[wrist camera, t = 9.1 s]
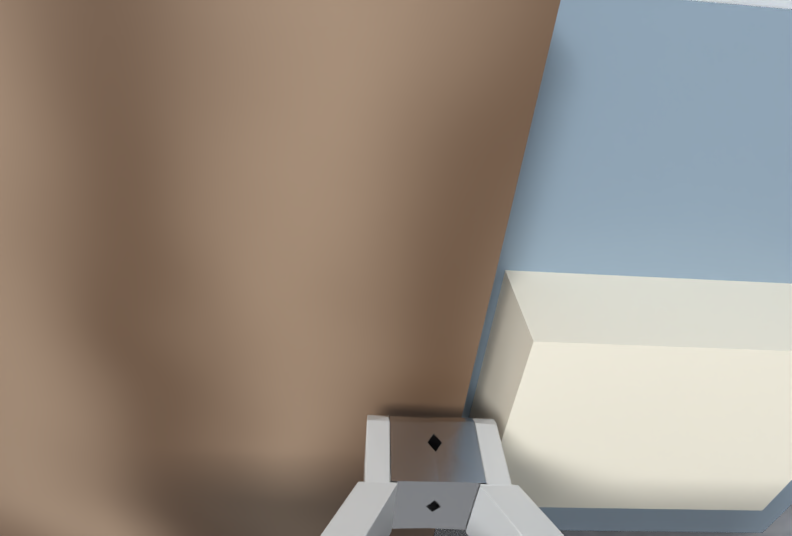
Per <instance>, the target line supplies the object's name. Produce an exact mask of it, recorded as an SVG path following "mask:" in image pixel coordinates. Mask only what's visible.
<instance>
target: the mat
mask: <svg viewBox="0 0 792 536" xmlns="http://www.w3.org/2000/svg"><path fill="white" fill-rule="evenodd" d="M505 270H511V271H532V272H554V273H575V274H597V275H618V276H640V277H661V278H683V279H704V280H726V281H747V282H769V283H790V284H792V9H783V8H772V7H761V6H749V5H738V4H727V3H715V2H704V1H693V0H561V1H560V5H559V9H558V13H557V18H556V22H555V26H554V30H553V35H552V39H551V43H550V47H549V51H548V56H547V60H546V64H545V68H544V72H543V77H542V81H541V85H540V89H539V93H538V98H537V102H536V106H535V110H534V115H533V119H532V123H531V127H530V131H529V136H528V140H527V144H526V148H525V152H524V157H523V161H522V165H521V169H520V174H519V178H518V182H517V186H516V190H515V195H514V199H513V203H512V207H511V211H510V216H509V220H508V224H507V228H506V232H505V237H504V241H503V245H502V249H501V254H500V258H499V262H498V266H497V270H496V275H495V279H494V283H493V287H492V291H491V296H490V300H489V304H488V308H487V313H486V317H485V321H484V325H483V329H482V334H481V338H480V342H479V346H478V350H477V355H476V359H475V363H474V367H473V371H472V376H471V380H470V384H469V388H468V393H467V397H466V401H465V405H464V409H463V414H462V418H469V415H470V411H471V407H472V403H473V399H474V395H475V391H476V387H477V383H478V379H479V375H480V370H481V366H482V362H483V358H484V354H485V350H486V346H487V342H488V338H489V334H490V330H491V326H492V322H493V318H494V314H495V310H496V306H497V302H498V298H499V294H500V290H501V285H502V281H503V277H504V273H505ZM791 504H792V480H791V481H790V482H789V483H788V484H787V485H786V486H785V487H784V488H783V489H782V491H781V492H780V493H779V494H778V495H777V496H776V497H775V498H774V499H773V500H772V501H771V502H770V503H769V504H768V505H767V506H766V507H765V508H764V509H763V510H762V511H759V510H691V509H623V508H556V507H539V508H540V509H541V511H542V512H543V513H544V514H545V515H546V516H547V517H548V518H549V519H550V521H551V522H552V523H553V524H554V525H555V526H556V527H557V528H558V529H559V530H577V531H653V532H729V533H763V532H764V531H765V530H766V529H767V528H768V527H769V526H770V525H771V524H772V523H773V522H774V521H775V520H776V519H777V518H778V517H779V516H780V515H781V514H782V513H783V512H784V511H785V510H786V509H787V508H788V507H789V506H790V505H791ZM435 529H437V528H435Z"/></svg>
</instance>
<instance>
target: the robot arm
mask: <svg viewBox="0 0 792 536" xmlns="http://www.w3.org/2000/svg"><path fill="white" fill-rule="evenodd" d="M401 528H437V529H460V530H466V533H467V535H468V536H564V535H563V534H562V533H561V532H560V530H559V529H558V528H557V527H556V526H555V525H554V524H553V523H552V522H551V521H550V519H549V518H548V517H547V516H546V515H545V514H544V513H543V512H542V511H541V509H540V508H539V507H538V506H537V505H536V504H535V503H534V502H533V501H532V500H531V498H530V497H529V496H528V495H527V494H526V493H525V492H524V491H523V490H522V489H521V487H520V486H519V485H512V483H511V479H510V475H509V471H508V467H507V463H506V459H505V455H504V451H503V447H502V443H501V439H500V435H499V431H498V427H497V423H496V422H495V420H494V419H476V418H473V419H472V418H453V417H430V418H419V417H402V416H382V415H368V416H367V426H366V442H365V459H364V481H363V482H358V483H357V484H356V485H355V487H354V488H353V490H352V491H351V493H350V494H349V495H348V497H347V498H346V500H345V501H344V503H343V504H342V505H341V507H340V508H339V510H338V511H337V513H336V514H335V515H334V517H333V518H332V520H331V521H330V523H329V524H328V525H327V527H326V528H325V530H324V531H323V533H322V534H321V535H320V536H389V535H390V533H391V531H392V529H401Z"/></svg>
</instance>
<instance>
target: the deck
mask: <svg viewBox="0 0 792 536" xmlns="http://www.w3.org/2000/svg"><path fill="white" fill-rule="evenodd" d="M560 1H561V0H0V536H320V535H321V534H322V533H323V531H324V530H325V528H326V527H327V525H328V524H329V523H330V521H331V520H332V518H333V517H334V515H335V514H336V513H337V511H338V510H339V508H340V507H341V505H342V504H343V503H344V501H345V500H346V498H347V497H348V495H349V494H350V493H351V491H352V490H353V488H354V487H355V485H356V484H357V483H358V482H363V481H364V459H365V442H366V426H367V416H368V415H382V416H402V417H419V418H430V417H453V418H462V414H463V409H464V405H465V401H466V397H467V393H468V388H469V384H470V380H471V376H472V371H473V367H474V363H475V359H476V355H477V350H478V346H479V342H480V338H481V334H482V329H483V325H484V321H485V317H486V313H487V308H488V304H489V300H490V296H491V291H492V287H493V283H494V279H495V275H496V270H497V266H498V262H499V258H500V254H501V249H502V245H503V241H504V237H505V232H506V228H507V224H508V220H509V216H510V211H511V207H512V203H513V199H514V195H515V190H516V186H517V182H518V178H519V174H520V169H521V165H522V161H523V157H524V152H525V148H526V144H527V140H528V136H529V131H530V127H531V123H532V119H533V115H534V110H535V106H536V102H537V98H538V93H539V89H540V85H541V81H542V77H543V72H544V68H545V64H546V60H547V56H548V51H549V47H550V43H551V39H552V35H553V30H554V26H555V22H556V18H557V13H558V9H559V5H560ZM434 532H435V528H401V529H392V531H391V533H390V535H389V536H434Z"/></svg>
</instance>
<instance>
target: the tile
mask: <svg viewBox="0 0 792 536" xmlns="http://www.w3.org/2000/svg"><path fill="white" fill-rule="evenodd" d="M469 418H472V419H473V418H476V419H494V420H495V422H496V423H497V427H498V431H499V435H500V439H501V443H502V447H503V451H504V455H505V459H506V463H507V467H508V471H509V475H510V479H511V483H512V485H519V486H520V487H521V489H522V490H523V491H524V492H525V493H526V494H527V495H528V496H529V497H530V498H531V500H532V501H533V502H534V503H535V504H536V505H537V506H538V507H556V508H623V509H691V510H759V511H762V510H763V509H764V508H765V507H766V506H767V505H768V504H769V503H770V502H771V501H772V500H773V499H774V498H775V497H776V496H777V495H778V494H779V493H780V492H781V491H782V489H783V488H784V487H785V486H786V485H787V484H788V483H789V482H790V481H791V480H792V284H790V283H769V282H747V281H726V280H704V279H683V278H661V277H640V276H618V275H597V274H575V273H554V272H532V271H511V270H505V273H504V277H503V281H502V285H501V290H500V294H499V298H498V302H497V306H496V310H495V314H494V318H493V322H492V326H491V330H490V334H489V338H488V342H487V346H486V350H485V354H484V358H483V362H482V366H481V370H480V375H479V379H478V383H477V387H476V391H475V395H474V399H473V403H472V407H471V411H470V415H469Z"/></svg>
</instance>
